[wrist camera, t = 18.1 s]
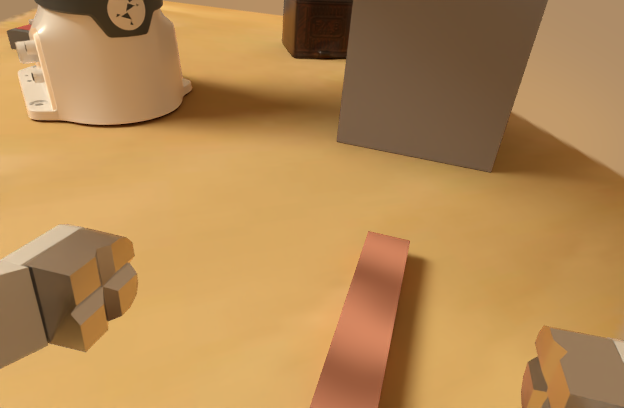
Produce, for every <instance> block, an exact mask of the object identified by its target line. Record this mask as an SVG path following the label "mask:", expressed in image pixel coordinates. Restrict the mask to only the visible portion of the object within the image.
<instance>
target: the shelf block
mask: <svg viewBox="0 0 624 408" xmlns="http://www.w3.org/2000/svg"><path fill="white" fill-rule="evenodd" d="M547 1H548V0H353V6H352V15H351V23H350V32H349V40H348V49H347V57H346V66H345V75H344V83H343V92H342V100H341V109H340V117H339V126H338V135H337V142H341V143H346V144H351V145H356V146H361V147H366V148H371V149H376V150H381V151H386V152H391V153H396V154H401V155H406V156H411V157H416V158H421V159H426V160H431V161H436V162H441V163H446V164H451V165H456V166H461V167H466V168H471V169H476V170H481V171H486V172H491V171H492V168H493V164H494V161H495V158H496V155H497V152H498V149H499V146H500V143H501V140H502V137H503V134H504V131H505V128H506V125H507V122H508V119H509V116H510V113H511V110H512V107H513V104H514V101H515V98H516V95H517V92H518V89H519V86H520V83H521V80H522V77H523V74H524V71H525V68H526V65H527V61H528V59H529V56H530V53H531V50H532V47H533V43H534V41H535V38H536V35H537V31H538V28H539V26H540V22H541V20H542V16H543V14H544V10H545V7H546V4H547Z"/></svg>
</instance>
